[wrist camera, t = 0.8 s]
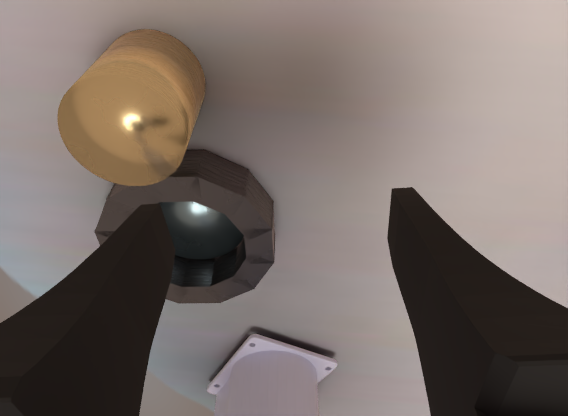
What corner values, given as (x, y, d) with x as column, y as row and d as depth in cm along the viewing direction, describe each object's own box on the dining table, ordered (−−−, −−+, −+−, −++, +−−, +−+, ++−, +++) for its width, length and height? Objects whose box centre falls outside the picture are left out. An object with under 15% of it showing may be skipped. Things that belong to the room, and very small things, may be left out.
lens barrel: (234, 290, 32) (230, 320, 30) (94, 242, 29) (80, 271, 27) (303, 193, 26) (305, 222, 24) (139, 120, 23) (125, 145, 21)
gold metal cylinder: (184, 140, 24) (162, 202, 20) (93, 99, 22) (47, 156, 18) (221, 61, 21) (204, 113, 17) (119, 8, 20) (72, 50, 15)
